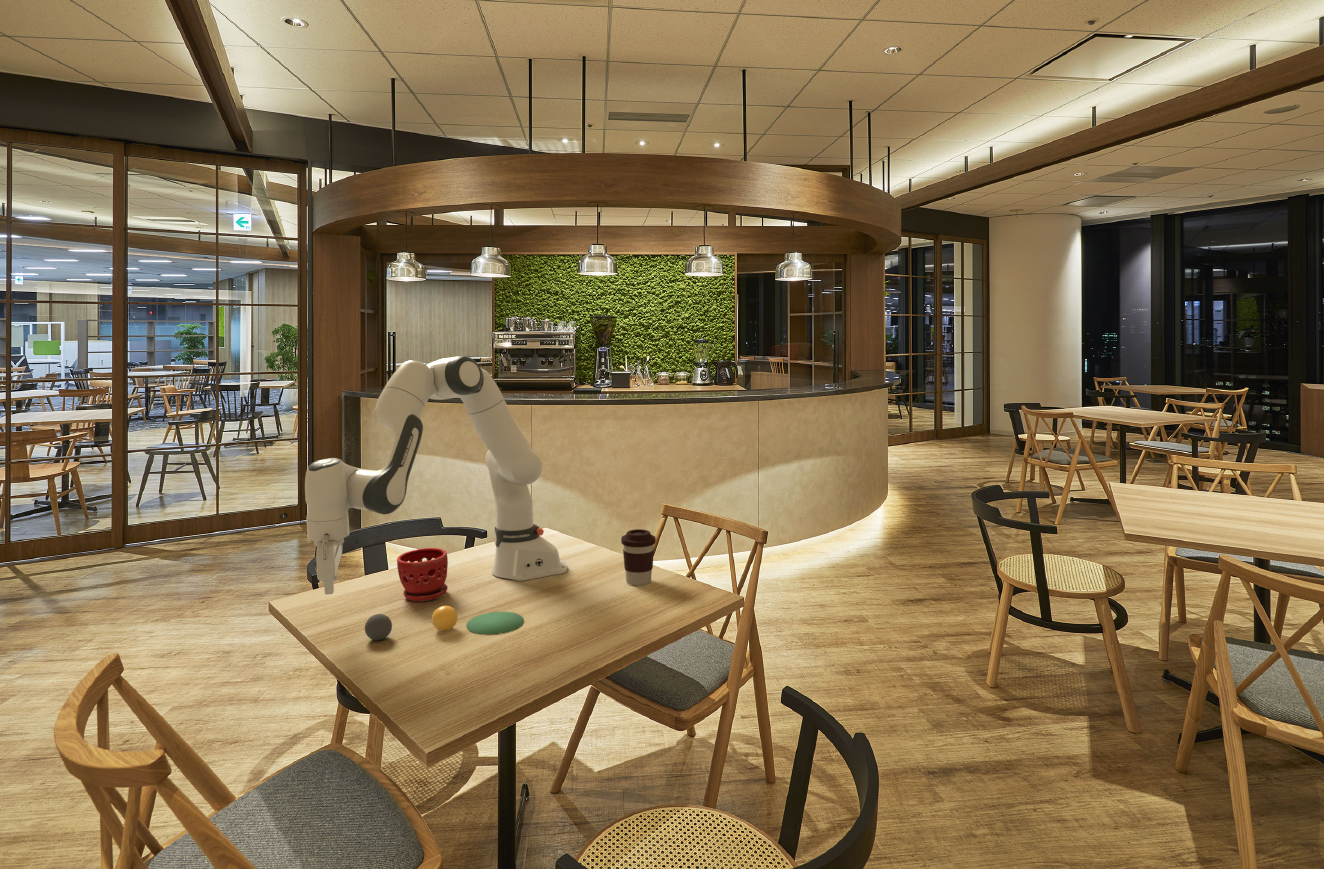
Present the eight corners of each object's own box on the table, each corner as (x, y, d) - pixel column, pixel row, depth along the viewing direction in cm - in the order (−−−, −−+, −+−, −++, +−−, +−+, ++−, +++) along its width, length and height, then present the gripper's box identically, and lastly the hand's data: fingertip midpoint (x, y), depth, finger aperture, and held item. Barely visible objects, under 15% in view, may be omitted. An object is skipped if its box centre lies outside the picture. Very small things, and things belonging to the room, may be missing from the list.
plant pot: (426, 585, 205) (424, 544, 203) (459, 593, 198) (457, 551, 196) (388, 599, 193) (386, 556, 192) (422, 608, 187) (420, 564, 185)
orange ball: (457, 623, 177) (456, 600, 176) (459, 633, 171) (458, 609, 170) (431, 627, 175) (430, 603, 174) (432, 636, 169) (431, 612, 168)
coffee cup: (615, 585, 204) (615, 534, 202) (630, 574, 213) (630, 526, 211) (647, 590, 200) (647, 538, 198) (660, 579, 209) (660, 529, 207)
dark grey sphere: (392, 632, 172) (391, 608, 171) (392, 642, 166) (391, 617, 165) (365, 636, 169) (364, 612, 169) (364, 646, 164) (363, 621, 163)
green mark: (519, 609, 186) (519, 608, 186) (528, 630, 173) (528, 629, 173) (463, 616, 181) (463, 616, 181) (469, 638, 168) (469, 637, 168)
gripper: (339, 539, 156) (342, 600, 158) (346, 518, 175) (348, 572, 177) (307, 542, 154) (311, 603, 156) (318, 520, 173) (321, 574, 175)
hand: (331, 586), depth 166 cm, fingers open, 8 cm apart
